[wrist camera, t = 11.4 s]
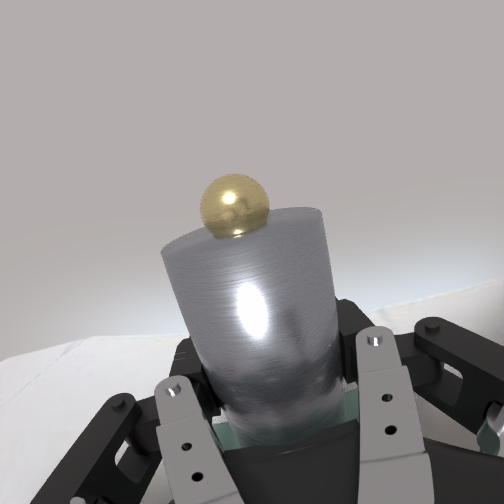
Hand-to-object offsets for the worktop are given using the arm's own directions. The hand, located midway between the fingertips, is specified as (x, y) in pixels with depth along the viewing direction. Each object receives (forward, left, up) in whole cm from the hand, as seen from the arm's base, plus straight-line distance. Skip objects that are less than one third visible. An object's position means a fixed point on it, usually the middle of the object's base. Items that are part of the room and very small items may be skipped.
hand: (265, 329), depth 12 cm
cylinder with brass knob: (0, +3, -6) cm, 7 cm away
